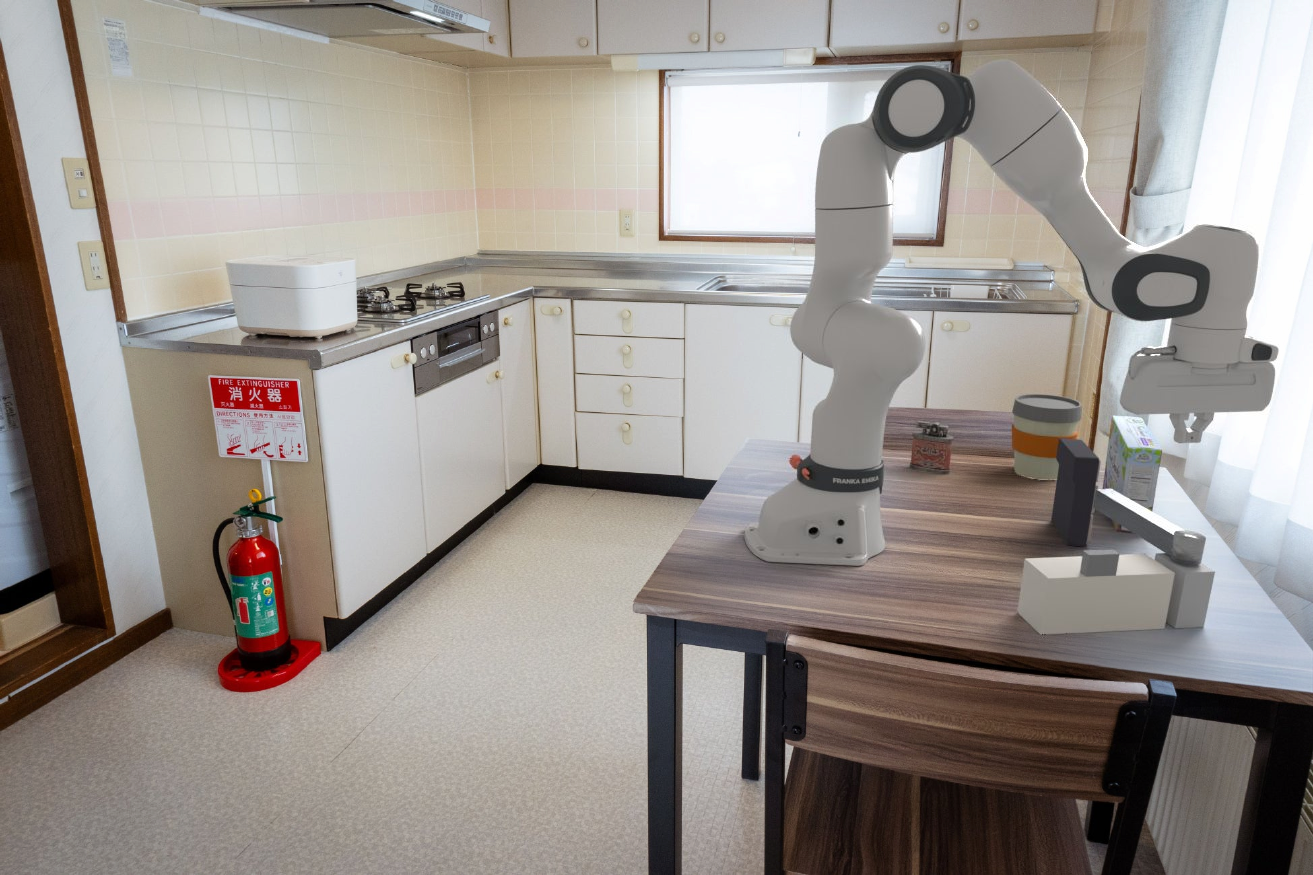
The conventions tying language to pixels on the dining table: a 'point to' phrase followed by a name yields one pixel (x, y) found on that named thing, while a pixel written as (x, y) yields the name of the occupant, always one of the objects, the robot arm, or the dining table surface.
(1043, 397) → the reusable coffee cup
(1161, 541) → the swing bar
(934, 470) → the lighter
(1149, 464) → the snack box
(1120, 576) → the door slab
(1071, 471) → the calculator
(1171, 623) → the post
